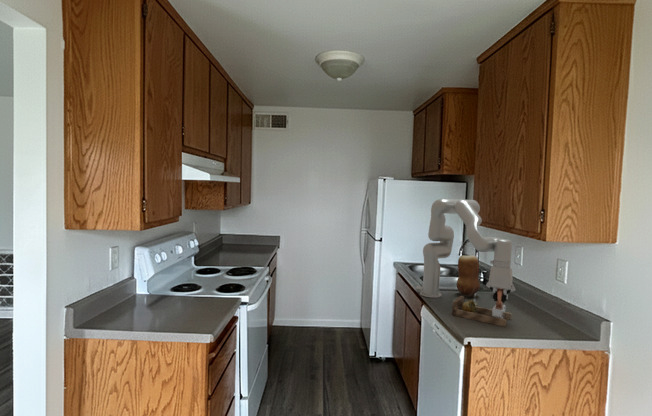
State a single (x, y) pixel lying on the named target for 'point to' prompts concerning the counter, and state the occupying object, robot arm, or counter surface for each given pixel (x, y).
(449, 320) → the counter surface
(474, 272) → the butternut squash
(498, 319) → the press frame
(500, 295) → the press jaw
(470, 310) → the onion
